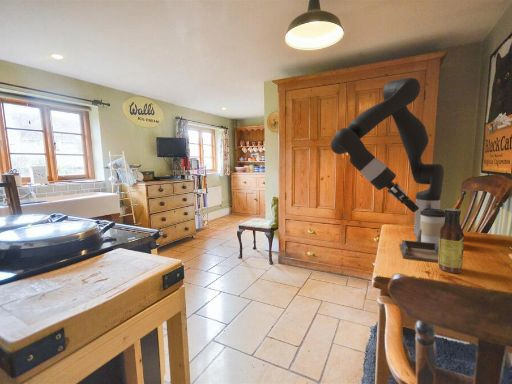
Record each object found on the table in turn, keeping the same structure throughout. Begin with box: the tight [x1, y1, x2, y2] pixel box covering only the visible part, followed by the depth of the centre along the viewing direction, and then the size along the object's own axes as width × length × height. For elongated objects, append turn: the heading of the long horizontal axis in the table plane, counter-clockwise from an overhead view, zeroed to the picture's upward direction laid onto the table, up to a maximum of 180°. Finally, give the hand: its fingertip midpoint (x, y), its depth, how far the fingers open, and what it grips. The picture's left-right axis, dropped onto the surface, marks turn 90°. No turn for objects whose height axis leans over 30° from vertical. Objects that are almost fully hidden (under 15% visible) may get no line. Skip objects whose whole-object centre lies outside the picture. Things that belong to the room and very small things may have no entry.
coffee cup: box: [420, 208, 445, 245], centre depth 104 cm, size 9×9×15 cm
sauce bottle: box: [438, 208, 465, 274], centre depth 80 cm, size 6×6×20 cm
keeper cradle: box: [398, 229, 439, 264], centre depth 94 cm, size 14×13×8 cm
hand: (414, 207), depth 83 cm, fingers open, 8 cm apart
